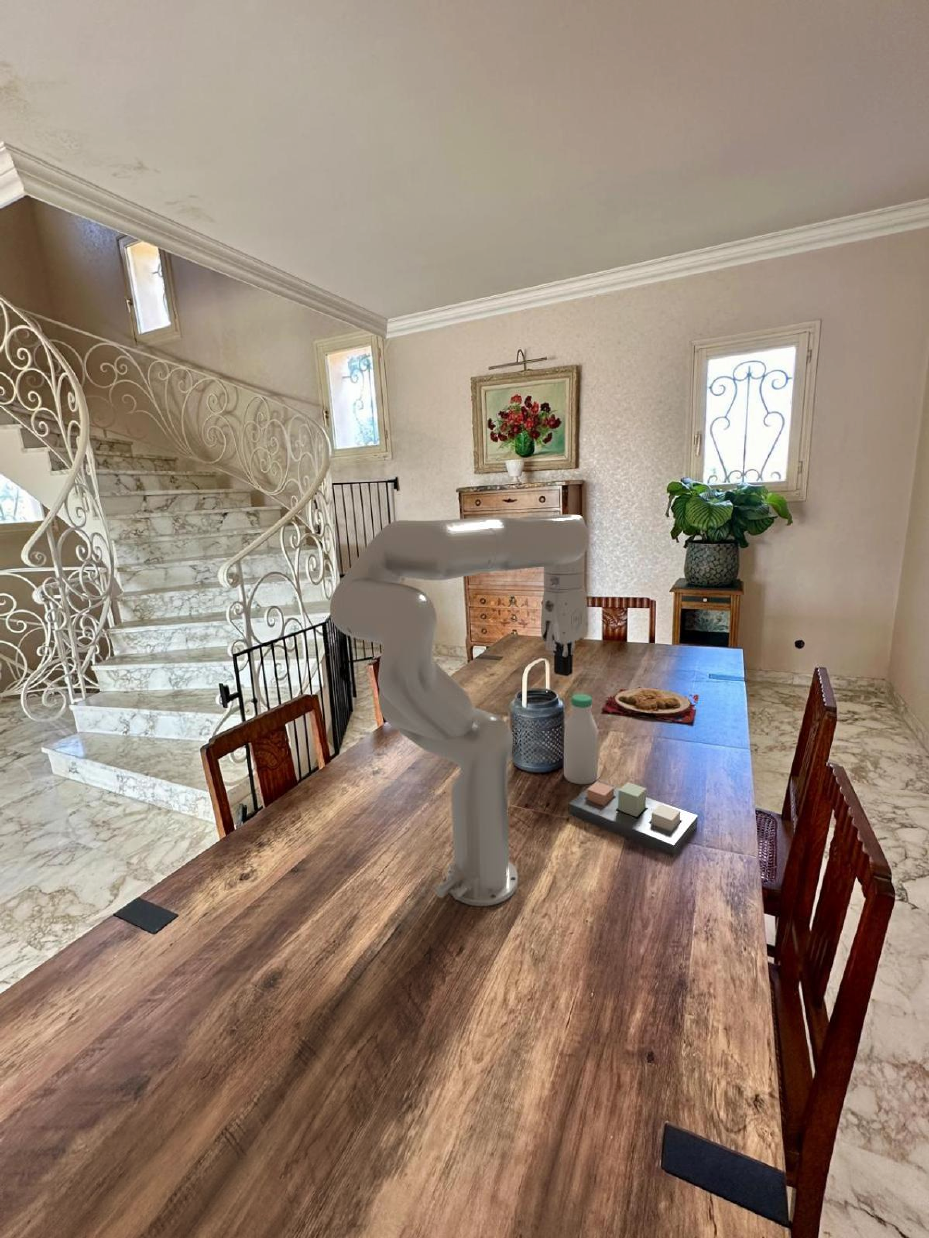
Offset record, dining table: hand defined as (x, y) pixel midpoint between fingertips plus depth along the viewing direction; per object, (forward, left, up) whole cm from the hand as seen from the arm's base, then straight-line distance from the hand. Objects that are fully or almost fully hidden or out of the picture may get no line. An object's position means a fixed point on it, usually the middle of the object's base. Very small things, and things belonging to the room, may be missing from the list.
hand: (563, 673), depth 110 cm
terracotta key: (+7, -5, -31) cm, 32 cm away
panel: (+7, -12, -31) cm, 34 cm away
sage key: (+7, -12, -28) cm, 32 cm away
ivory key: (+7, -19, -31) cm, 37 cm away
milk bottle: (+16, +5, -31) cm, 36 cm away
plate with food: (+68, +11, -32) cm, 76 cm away
